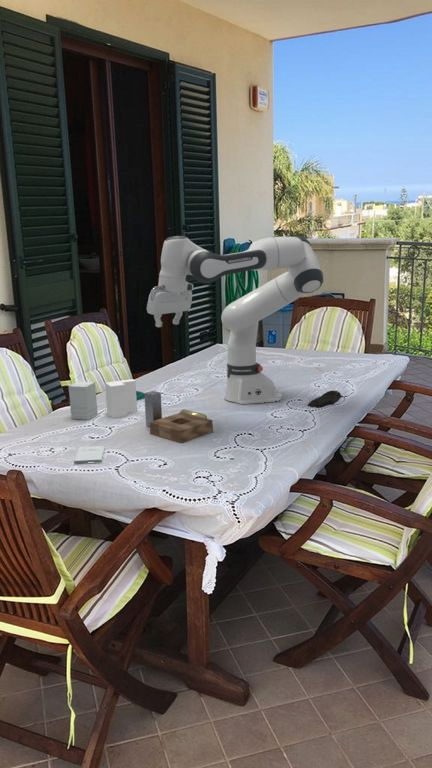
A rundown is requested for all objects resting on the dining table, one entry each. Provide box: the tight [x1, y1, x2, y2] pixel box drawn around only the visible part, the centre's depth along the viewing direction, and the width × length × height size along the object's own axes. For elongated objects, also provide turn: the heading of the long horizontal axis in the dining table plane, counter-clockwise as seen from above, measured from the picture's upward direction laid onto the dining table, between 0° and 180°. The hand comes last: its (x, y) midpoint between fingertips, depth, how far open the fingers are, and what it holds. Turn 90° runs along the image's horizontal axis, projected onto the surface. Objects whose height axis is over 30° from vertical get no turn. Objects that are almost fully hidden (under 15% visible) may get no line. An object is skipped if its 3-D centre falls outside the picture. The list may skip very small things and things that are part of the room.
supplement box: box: [68, 381, 99, 421], centre depth 241 cm, size 7×7×13 cm
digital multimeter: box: [136, 390, 145, 402], centre depth 262 cm, size 7×15×3 cm, turn 147°
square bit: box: [143, 390, 163, 428], centre depth 228 cm, size 4×4×12 cm
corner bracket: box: [104, 378, 138, 419], centre depth 246 cm, size 11×11×12 cm
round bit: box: [179, 408, 208, 419], centre depth 232 cm, size 10×4×4 cm, turn 47°
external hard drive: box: [73, 445, 106, 464], centre depth 201 cm, size 2×8×12 cm
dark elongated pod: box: [307, 390, 342, 409], centre depth 255 cm, size 22×7×3 cm, turn 145°
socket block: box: [149, 412, 214, 444], centre depth 221 cm, size 15×15×4 cm
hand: (167, 325), depth 223 cm, fingers open, 8 cm apart
